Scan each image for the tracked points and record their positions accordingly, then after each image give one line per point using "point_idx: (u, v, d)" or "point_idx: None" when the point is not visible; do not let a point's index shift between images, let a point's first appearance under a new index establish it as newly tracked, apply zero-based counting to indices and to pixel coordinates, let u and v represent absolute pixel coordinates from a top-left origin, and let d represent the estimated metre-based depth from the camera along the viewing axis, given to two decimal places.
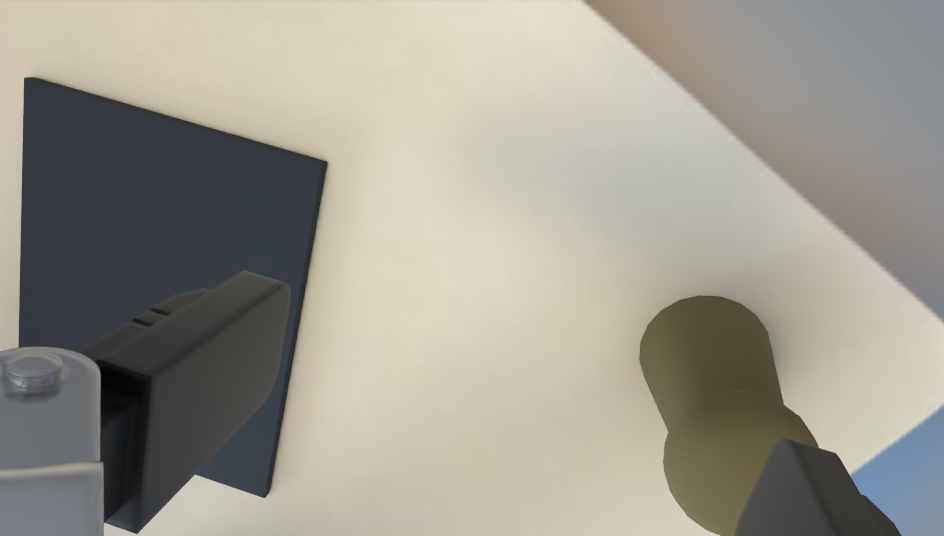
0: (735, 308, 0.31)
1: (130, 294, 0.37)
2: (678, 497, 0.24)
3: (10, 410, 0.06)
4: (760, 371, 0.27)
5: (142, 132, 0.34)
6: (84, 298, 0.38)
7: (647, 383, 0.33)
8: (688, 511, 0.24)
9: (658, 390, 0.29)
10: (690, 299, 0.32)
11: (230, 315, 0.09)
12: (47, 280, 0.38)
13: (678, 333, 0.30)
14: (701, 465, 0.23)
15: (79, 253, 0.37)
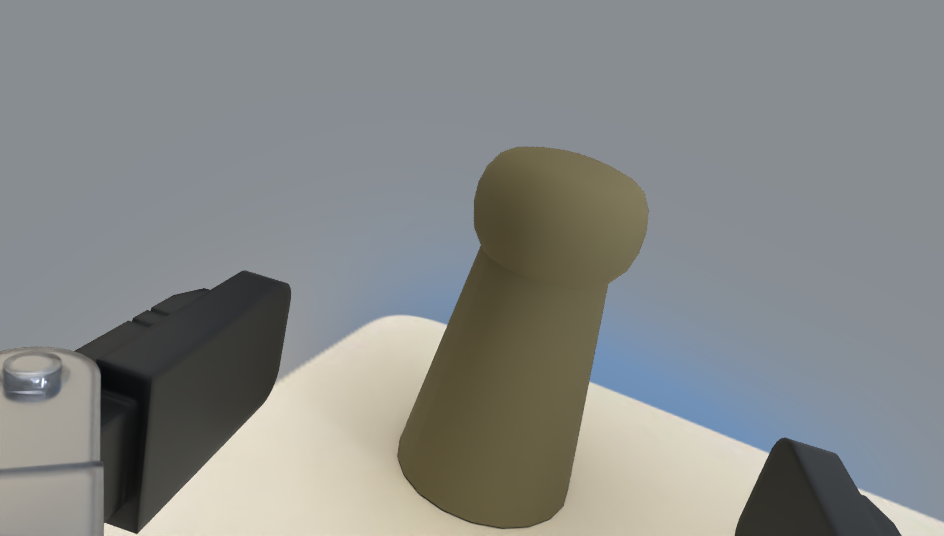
0: (405, 428, 0.23)
1: None
2: (631, 207, 0.19)
3: (10, 410, 0.06)
4: (459, 298, 0.22)
5: None
6: None
7: (553, 492, 0.22)
8: (638, 199, 0.19)
9: (542, 399, 0.20)
10: (413, 482, 0.22)
11: (230, 315, 0.09)
12: None
13: (458, 427, 0.21)
14: (575, 176, 0.18)
15: None
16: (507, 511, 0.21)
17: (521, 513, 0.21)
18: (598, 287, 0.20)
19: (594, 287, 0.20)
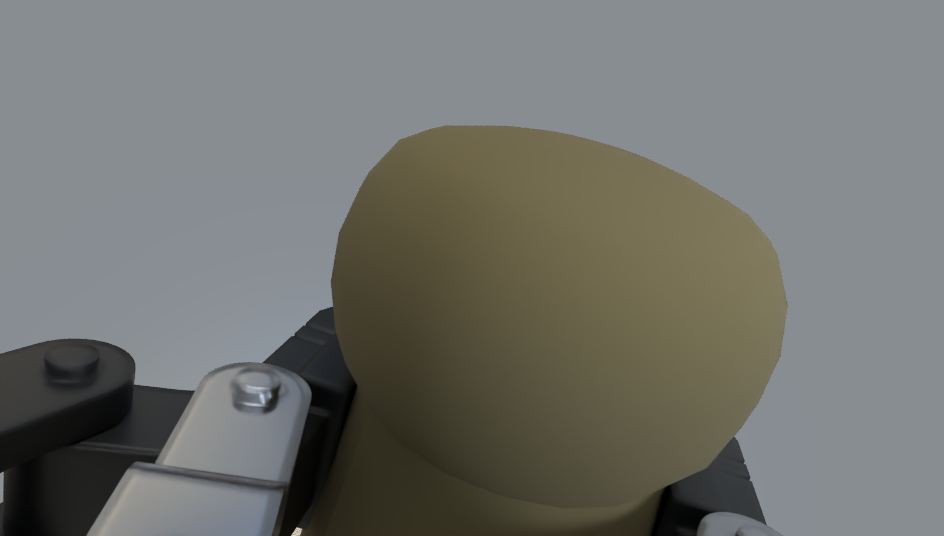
0: None
1: None
2: (757, 293, 0.06)
3: (253, 423, 0.07)
4: None
5: None
6: None
7: None
8: (771, 266, 0.07)
9: None
10: None
11: None
12: None
13: None
14: (597, 203, 0.06)
15: None
16: None
17: None
18: (653, 491, 0.08)
19: (644, 495, 0.07)
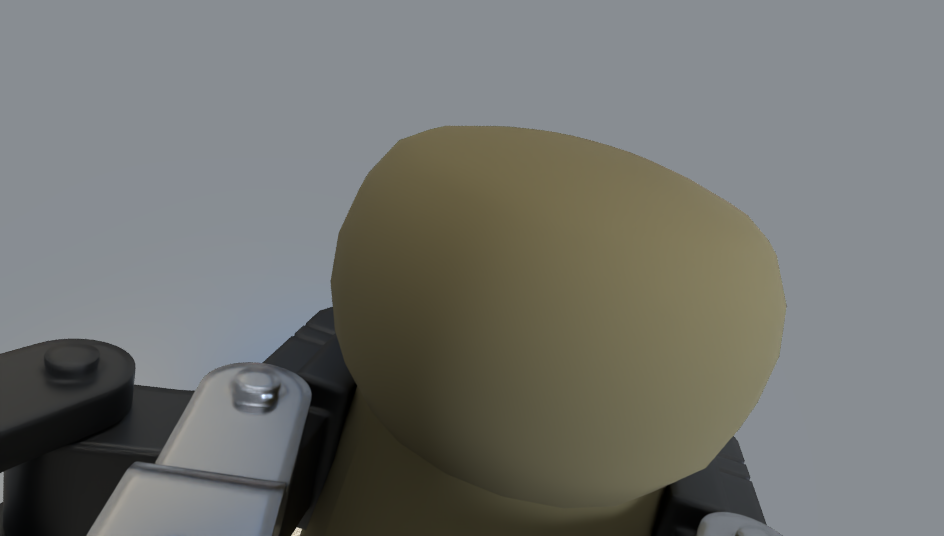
0: None
1: None
2: (756, 292, 0.06)
3: (253, 423, 0.07)
4: None
5: None
6: None
7: None
8: (770, 266, 0.07)
9: None
10: None
11: None
12: None
13: None
14: (595, 203, 0.06)
15: None
16: None
17: None
18: (652, 491, 0.08)
19: (642, 495, 0.07)
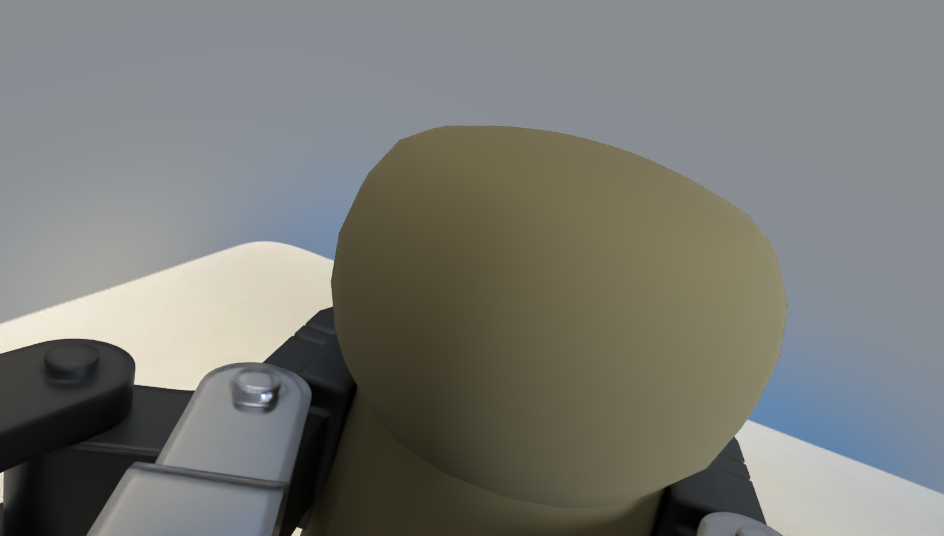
0: None
1: None
2: (757, 292, 0.06)
3: (253, 423, 0.07)
4: None
5: None
6: None
7: None
8: (770, 266, 0.07)
9: None
10: None
11: None
12: None
13: None
14: (595, 203, 0.06)
15: None
16: None
17: None
18: (653, 491, 0.08)
19: (644, 495, 0.07)
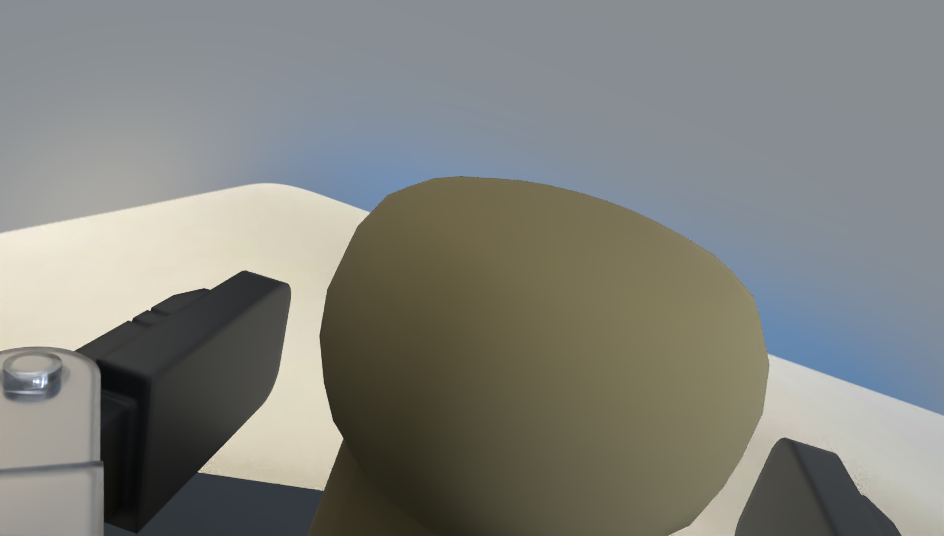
0: None
1: None
2: (737, 358, 0.07)
3: (10, 409, 0.06)
4: None
5: None
6: None
7: None
8: (752, 328, 0.07)
9: None
10: None
11: (230, 315, 0.09)
12: None
13: None
14: (577, 273, 0.06)
15: None
16: None
17: None
18: None
19: None
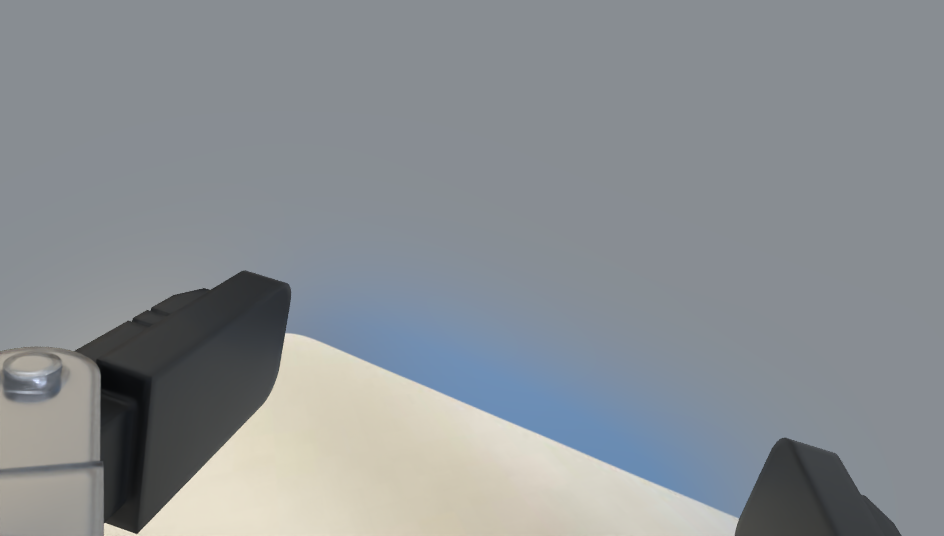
0: None
1: None
2: None
3: (10, 410, 0.06)
4: None
5: None
6: None
7: None
8: None
9: None
10: None
11: (230, 315, 0.09)
12: None
13: None
14: None
15: None
16: None
17: None
18: None
19: None
